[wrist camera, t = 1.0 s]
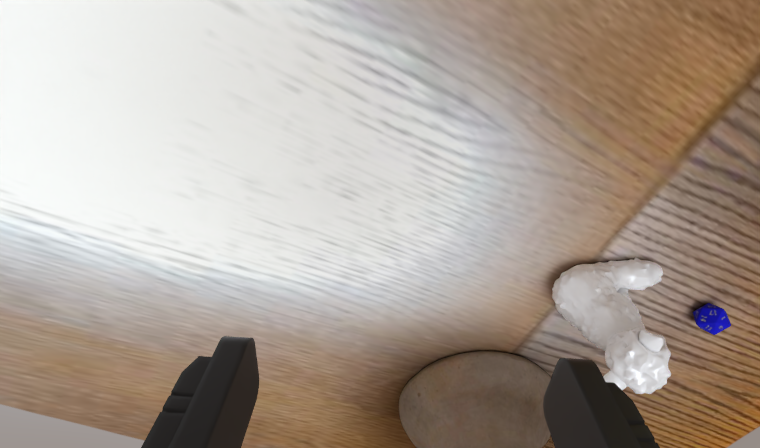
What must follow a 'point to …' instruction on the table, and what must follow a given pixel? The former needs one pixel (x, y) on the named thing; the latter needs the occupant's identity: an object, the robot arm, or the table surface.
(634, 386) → the seated beast figurine
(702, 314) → the die
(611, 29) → the table surface
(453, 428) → the bowl
